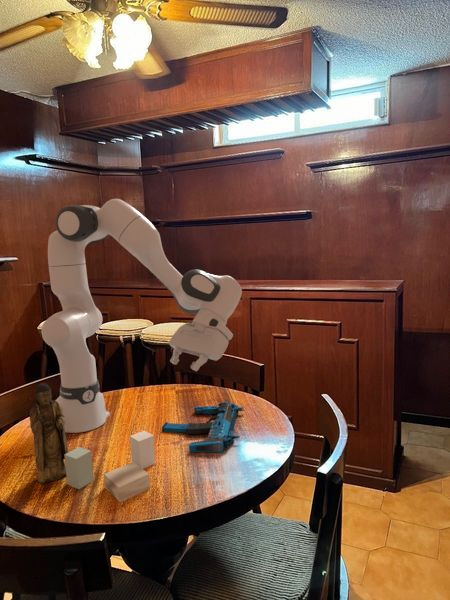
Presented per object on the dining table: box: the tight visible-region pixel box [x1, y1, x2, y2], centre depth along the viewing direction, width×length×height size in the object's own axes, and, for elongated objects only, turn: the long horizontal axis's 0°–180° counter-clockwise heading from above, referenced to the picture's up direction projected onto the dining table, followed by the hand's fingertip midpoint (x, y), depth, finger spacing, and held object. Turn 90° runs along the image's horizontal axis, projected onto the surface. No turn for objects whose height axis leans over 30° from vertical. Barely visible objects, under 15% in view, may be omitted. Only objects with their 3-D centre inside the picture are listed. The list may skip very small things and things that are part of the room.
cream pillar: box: [129, 430, 156, 470], centre depth 116 cm, size 4×4×8 cm
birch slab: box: [103, 461, 151, 503], centre depth 105 cm, size 8×8×4 cm
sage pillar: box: [64, 446, 95, 490], centre depth 108 cm, size 4×4×8 cm
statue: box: [29, 382, 69, 485], centre depth 109 cm, size 9×9×25 cm
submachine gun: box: [161, 398, 245, 453], centre depth 138 cm, size 34×4×25 cm
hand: (182, 366), depth 120 cm, fingers open, 8 cm apart
